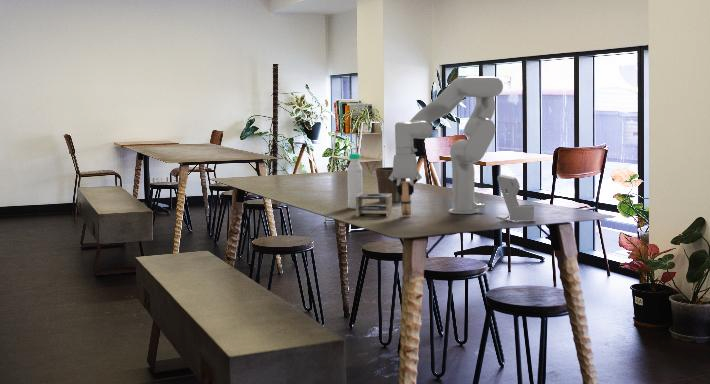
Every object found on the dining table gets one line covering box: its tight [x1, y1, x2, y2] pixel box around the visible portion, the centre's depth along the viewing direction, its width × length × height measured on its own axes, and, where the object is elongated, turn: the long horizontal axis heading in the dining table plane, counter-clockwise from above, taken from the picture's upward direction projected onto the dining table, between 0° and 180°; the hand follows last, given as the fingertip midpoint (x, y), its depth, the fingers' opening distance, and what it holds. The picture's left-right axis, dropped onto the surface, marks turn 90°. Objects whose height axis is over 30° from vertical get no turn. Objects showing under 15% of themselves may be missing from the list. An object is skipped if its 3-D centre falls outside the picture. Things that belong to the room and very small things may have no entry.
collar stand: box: [355, 193, 393, 218], centre depth 362 cm, size 14×12×8 cm
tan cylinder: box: [400, 181, 412, 217], centre depth 353 cm, size 4×4×14 cm
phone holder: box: [496, 174, 535, 221], centre depth 340 cm, size 17×10×18 cm, turn 15°
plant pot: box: [374, 166, 407, 204], centre depth 406 cm, size 16×16×16 cm
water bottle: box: [346, 153, 364, 210], centre depth 385 cm, size 7×7×25 cm
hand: (405, 194), depth 353 cm, fingers closed on tan cylinder, 4 cm apart
